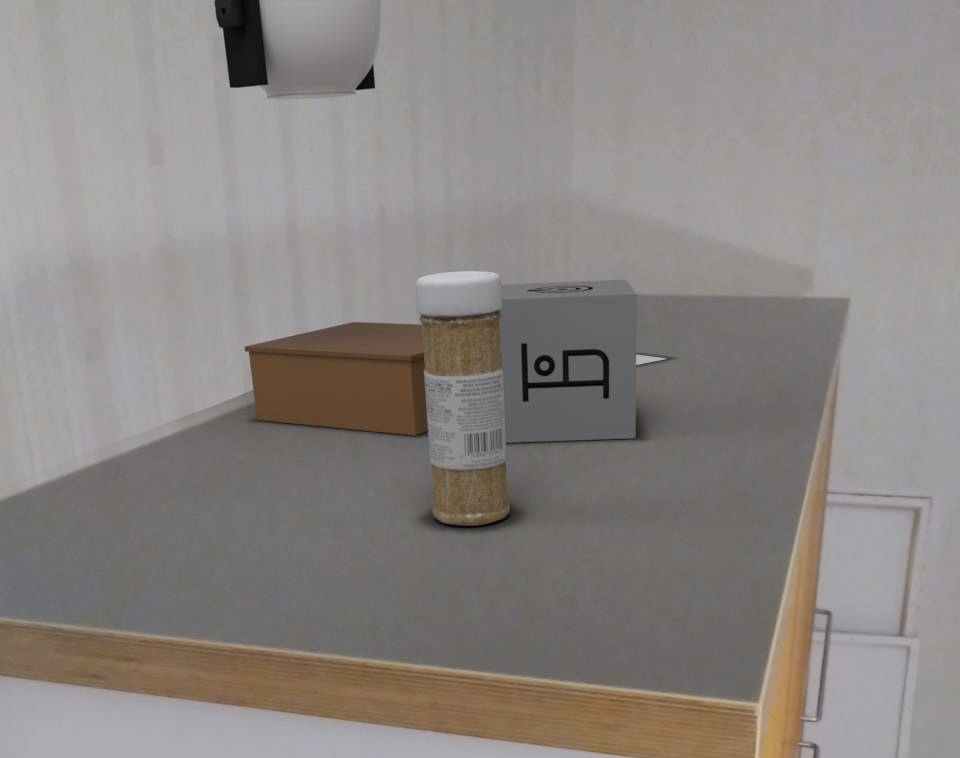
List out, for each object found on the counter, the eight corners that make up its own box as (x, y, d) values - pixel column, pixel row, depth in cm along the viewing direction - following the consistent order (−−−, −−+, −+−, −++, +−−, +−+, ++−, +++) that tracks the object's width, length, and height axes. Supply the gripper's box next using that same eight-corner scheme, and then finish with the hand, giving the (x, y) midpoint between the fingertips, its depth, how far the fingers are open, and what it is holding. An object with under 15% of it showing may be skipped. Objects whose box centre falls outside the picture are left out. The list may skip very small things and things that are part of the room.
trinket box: (413, 93, 81) (403, -58, 77) (347, 89, 71) (332, -83, 68) (281, 103, 84) (266, -42, 80) (203, 100, 75) (181, -64, 71)
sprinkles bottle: (499, 502, 67) (490, 267, 62) (518, 523, 63) (510, 274, 58) (425, 510, 66) (409, 273, 61) (439, 532, 62) (423, 280, 57)
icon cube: (497, 443, 81) (491, 300, 77) (500, 414, 90) (495, 285, 86) (635, 438, 81) (636, 293, 77) (625, 409, 90) (625, 279, 86)
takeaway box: (253, 420, 93) (244, 346, 90) (359, 388, 104) (353, 321, 101) (416, 436, 84) (410, 355, 82) (512, 400, 96) (509, 327, 93)
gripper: (168, -393, 58) (226, 79, 67) (425, -274, 76) (445, 87, 85) (74, -353, 62) (140, 88, 71) (340, -248, 80) (366, 94, 88)
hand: (306, 88), depth 78 cm, fingers closed on trinket box, 11 cm apart
